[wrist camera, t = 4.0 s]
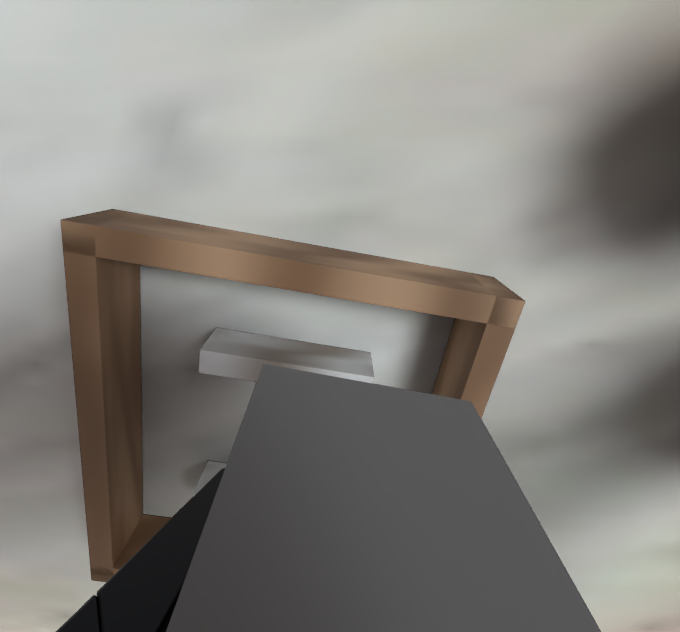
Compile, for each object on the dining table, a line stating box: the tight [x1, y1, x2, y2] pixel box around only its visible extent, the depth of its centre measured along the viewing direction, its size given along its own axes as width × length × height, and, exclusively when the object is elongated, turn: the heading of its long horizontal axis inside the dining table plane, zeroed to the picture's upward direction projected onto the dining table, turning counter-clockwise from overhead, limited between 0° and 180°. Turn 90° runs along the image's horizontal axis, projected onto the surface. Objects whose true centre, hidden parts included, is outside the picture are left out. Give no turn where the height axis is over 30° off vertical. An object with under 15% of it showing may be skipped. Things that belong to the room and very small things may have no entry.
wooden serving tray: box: [61, 209, 525, 582], centre depth 20 cm, size 18×20×4 cm
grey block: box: [166, 364, 601, 632], centre depth 7 cm, size 5×5×7 cm
